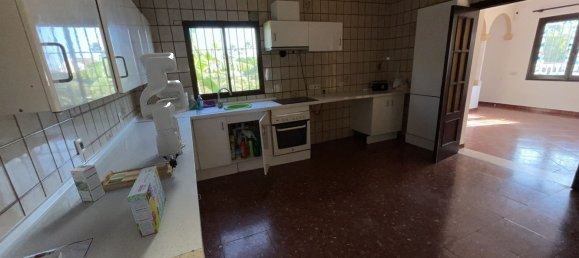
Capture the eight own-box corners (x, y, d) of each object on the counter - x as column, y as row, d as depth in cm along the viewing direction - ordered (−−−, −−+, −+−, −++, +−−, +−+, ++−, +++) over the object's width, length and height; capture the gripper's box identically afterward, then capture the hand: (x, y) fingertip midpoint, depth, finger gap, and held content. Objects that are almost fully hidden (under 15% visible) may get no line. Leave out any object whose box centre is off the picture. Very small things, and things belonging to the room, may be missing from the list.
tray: (113, 177, 116) (110, 170, 115) (174, 165, 125) (172, 158, 124) (102, 191, 104) (99, 183, 103) (171, 177, 113) (169, 169, 111)
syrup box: (105, 194, 101) (95, 163, 97) (93, 202, 96) (82, 170, 91) (93, 194, 102) (83, 164, 98) (81, 202, 96) (69, 170, 92)
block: (157, 171, 115) (155, 163, 114) (168, 168, 117) (166, 161, 116) (155, 175, 111) (153, 167, 110) (167, 173, 112) (165, 165, 111)
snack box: (150, 202, 93) (141, 168, 88) (166, 198, 95) (157, 164, 90) (139, 238, 74) (125, 196, 69) (158, 232, 76) (147, 192, 71)
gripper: (183, 127, 116) (190, 161, 121) (149, 132, 111) (158, 167, 116) (182, 131, 109) (190, 166, 114) (146, 136, 104) (156, 173, 109)
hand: (174, 167), depth 115 cm, fingers closed
